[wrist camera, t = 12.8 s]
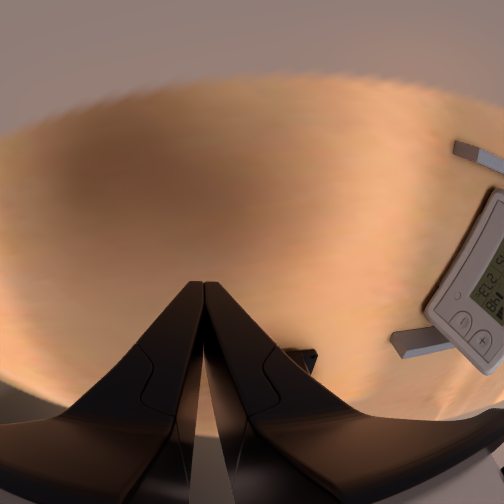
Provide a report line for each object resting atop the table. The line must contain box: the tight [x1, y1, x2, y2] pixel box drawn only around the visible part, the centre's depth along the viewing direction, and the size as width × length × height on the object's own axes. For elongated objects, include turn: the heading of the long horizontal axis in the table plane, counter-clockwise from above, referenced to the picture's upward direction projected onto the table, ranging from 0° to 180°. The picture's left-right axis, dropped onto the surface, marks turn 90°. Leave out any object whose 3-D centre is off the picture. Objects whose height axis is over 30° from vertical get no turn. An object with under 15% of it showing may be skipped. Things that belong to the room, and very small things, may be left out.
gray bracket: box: [390, 141, 504, 359], centre depth 24 cm, size 21×18×5 cm
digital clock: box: [424, 188, 504, 376], centre depth 21 cm, size 16×9×11 cm, turn 144°
